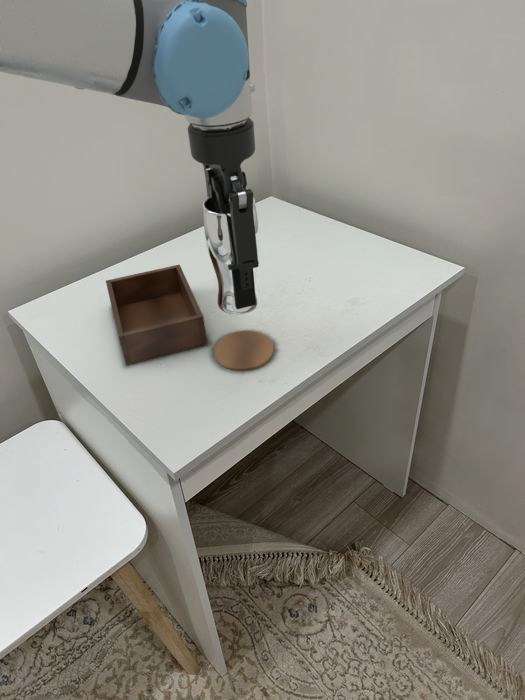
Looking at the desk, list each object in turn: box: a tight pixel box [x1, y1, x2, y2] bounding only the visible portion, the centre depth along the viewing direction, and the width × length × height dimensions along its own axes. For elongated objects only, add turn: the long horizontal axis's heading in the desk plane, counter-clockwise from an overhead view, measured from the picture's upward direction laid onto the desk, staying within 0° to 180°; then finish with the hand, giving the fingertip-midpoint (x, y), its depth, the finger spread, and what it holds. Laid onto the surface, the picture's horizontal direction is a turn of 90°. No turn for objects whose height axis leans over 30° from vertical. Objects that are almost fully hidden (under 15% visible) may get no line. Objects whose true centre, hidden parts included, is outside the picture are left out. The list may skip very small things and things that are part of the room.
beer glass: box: [202, 196, 262, 315], centre depth 72 cm, size 7×7×15 cm
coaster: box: [213, 330, 274, 372], centre depth 82 cm, size 9×9×1 cm
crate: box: [105, 264, 209, 366], centre depth 87 cm, size 13×17×5 cm
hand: (238, 292), depth 76 cm, fingers closed on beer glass, 6 cm apart
